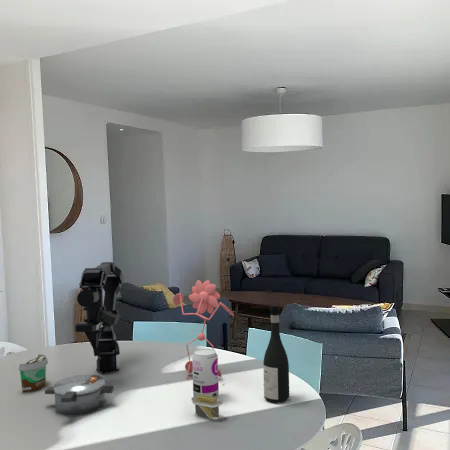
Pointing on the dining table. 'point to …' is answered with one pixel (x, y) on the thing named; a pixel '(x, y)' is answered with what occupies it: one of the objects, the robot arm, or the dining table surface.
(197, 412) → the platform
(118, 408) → the dining table surface
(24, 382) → the food container
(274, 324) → the wine bottle
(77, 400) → the cooker pot
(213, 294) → the figurine
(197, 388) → the supplement can
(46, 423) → the dining table surface
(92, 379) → the cooker lid
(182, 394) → the dining table surface
